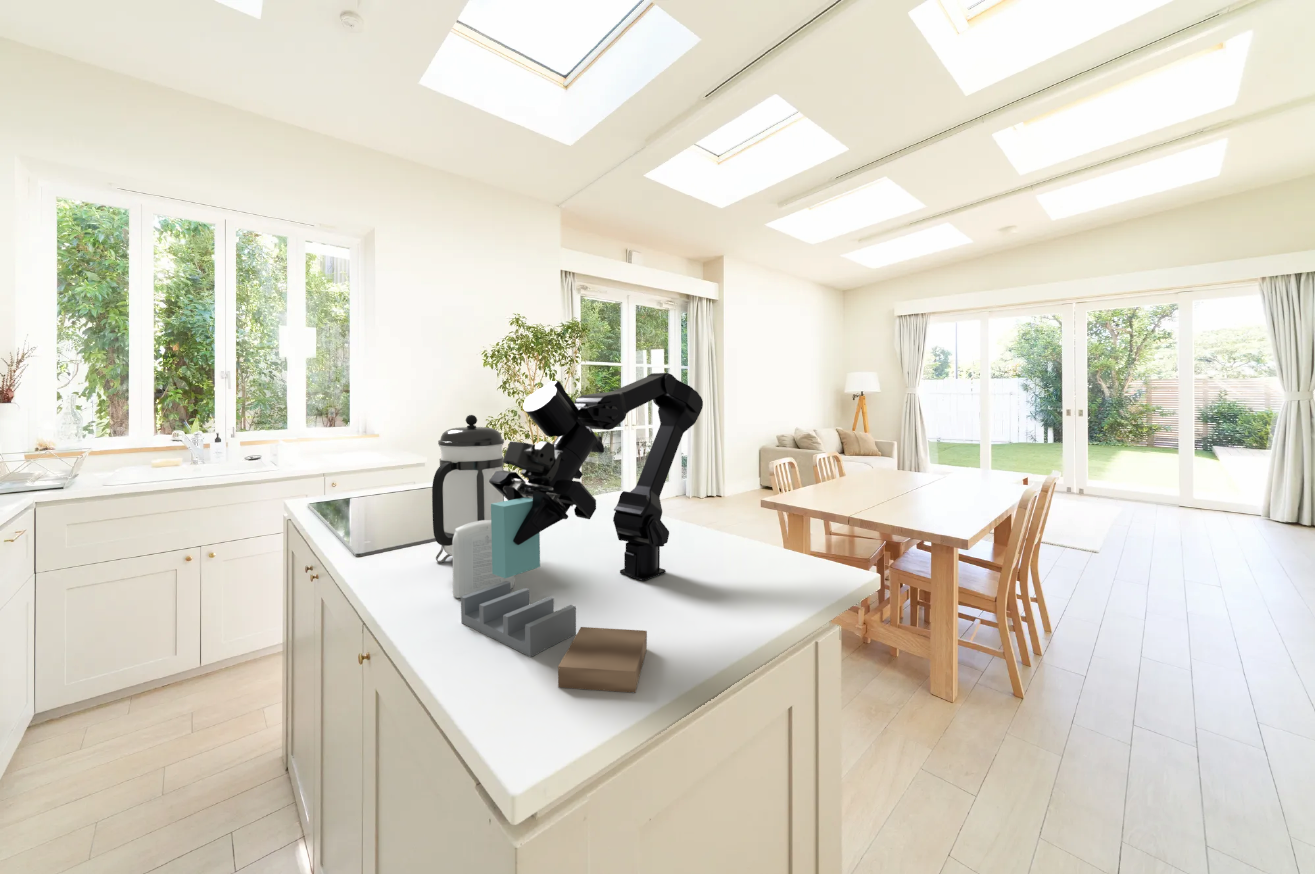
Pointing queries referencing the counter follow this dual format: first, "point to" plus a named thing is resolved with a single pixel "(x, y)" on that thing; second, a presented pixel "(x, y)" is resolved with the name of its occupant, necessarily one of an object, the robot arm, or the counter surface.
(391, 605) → the counter surface
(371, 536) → the counter surface
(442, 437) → the coffee press
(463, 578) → the grey rounded slab
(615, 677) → the brown block
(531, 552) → the thick teal slab
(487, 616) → the rack
